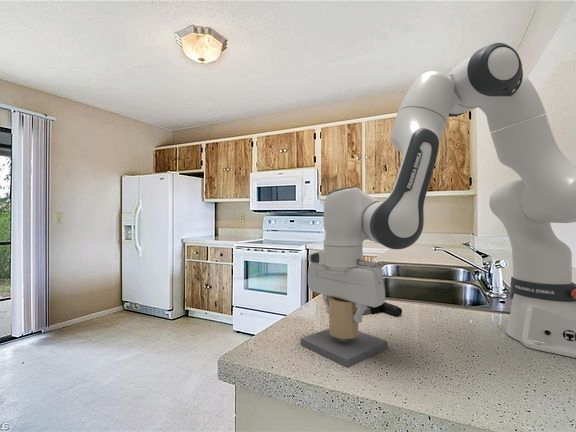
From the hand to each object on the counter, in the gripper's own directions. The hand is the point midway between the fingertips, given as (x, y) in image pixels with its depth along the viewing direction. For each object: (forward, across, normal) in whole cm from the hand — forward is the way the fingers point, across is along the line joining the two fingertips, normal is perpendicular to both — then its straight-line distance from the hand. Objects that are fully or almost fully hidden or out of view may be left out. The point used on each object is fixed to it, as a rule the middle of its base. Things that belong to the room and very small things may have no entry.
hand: (343, 317), depth 71 cm
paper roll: (+4, 0, 0) cm, 4 cm away
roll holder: (+7, 0, 0) cm, 7 cm away
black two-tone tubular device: (+7, +14, -26) cm, 30 cm away
